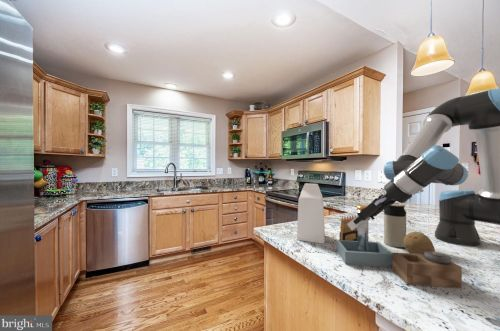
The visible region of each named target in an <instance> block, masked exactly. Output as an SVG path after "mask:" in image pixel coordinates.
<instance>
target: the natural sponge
mask: <svg viewBox="0 0 500 331" xmlns="http://www.w3.org/2000/svg"><path fill="white" fill-rule="evenodd" d="M403 243H404V246H405V247H404V249H406V251H407V253H412V254H424V252H426V251H433V252H436V249H435V246H434V244H433V242H432V240H431V239H430V237H428V235H426V234H424V232H423V233H422V232H421V231H411V232H409V233H406V236H405V238H404V240H403Z"/></svg>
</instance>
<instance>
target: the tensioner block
mask: <svg viewBox="0 0 500 331" xmlns="http://www.w3.org/2000/svg"><path fill="white" fill-rule="evenodd" d="M391 252H392V266H393V267H392V272H393V273H394V274H395V275H397V277H399V278H400V279H401V280H402V281H403V282H404V284H406V285H414V286H426V287H436V288H437V287H440V288H450V289H451V288H453V289H463V281H462V280H463V279H462V277H463V274H462V273H463V270H462V266H461V265H459V264H457V263H455V262H453V261H452V257H451V256H449V255H447V254H445V253H442V252H438V251H435V252H433V251H426V252H424V254H412V253H409V252H393V251H391Z"/></svg>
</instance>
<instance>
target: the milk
mask: <svg viewBox="0 0 500 331" xmlns="http://www.w3.org/2000/svg"><path fill="white" fill-rule="evenodd" d="M324 212H325V209H324V197H323V194H322V192H321V189H320V186H319V184H318V183H304V185H303V187H302V189H301V192H300V195H299V197H298V205H297V226H296V227H297V228H296V229H297V230H296V240H297V241H304V242H311V243H312V242H313V243H319V244H324V243H325V237H326V230H325V226H326V225H325V213H324Z"/></svg>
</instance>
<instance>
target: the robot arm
mask: <svg viewBox="0 0 500 331" xmlns="http://www.w3.org/2000/svg"><path fill="white" fill-rule="evenodd" d="M465 125H467V126H468V130H469V131H471V132H473V133H474V134H475V135H474V136H475V143H476V150H477V157H478V165H479V172H480V180H481V186H482V188H481V189H479V190H478V192H477V193H476V191H475V190H474V189H472V190H471V189H469V190H468V189H466V190H465V189H463V190H462V189H460V190H459V189H458V190H456V189H455V190H443V191H440V192H439V197H438V198H439V199H438V204H439V205H438V207H439V208H438V210H439V213H438V215H439V217H438V219H439V221H438V224H437V225H436V226H437V227H436V229H435V230H434V238H436V239H437V240H440V241H443V242H445V243H450V244H455V245H458V246H459V245H460V246H465V247H466V246H469V247H479V246H481V244H482V240H481V238H480V235H479V233H478V231H477V228H476V224H475V223H476V222H481V223H487V224H492V225H498V226H500V87H499V88H492V89H489V90H485V91H479V92H475V93H472V94H467V95H461V96H458V97H454V98H451V99H449V100H447V101H445V102H443V103H441V104H440V105H437V107H435V108H434V109H432V110H431V112H429V114H428V115H427V116H426V117H425V118H424V119H423V122H422V127H421V128H420V129H419V131H418V132H417V133H416V135H415V136H414V137H413V139H412V140H411V141H410V143H409V144H408V145H407V147H405V148H404V151H402V153H401V154H400V156H399V157H398V158H397V160H391V161H387V162H386V163H385V164H384V166H383V175H384V177H385V178H386V179H387V180H389V181H388V182H387V183H385V184H384V186H383V189H384V191H385V193H384V194H383V193H382V194H380V195H378V197H376V198H374V200H372V202H370V203H369V204H368V205H366V206H367V207H366V208H364V209H363V210H362V211H361V212H360V213H359V212H358V213H357V212H356V214H357V215H358V216H356V217H355V218H354V219H353V220H352V221H350V222H349V223H348V224H347V225H348V226H349V228H350V229H351V230H354V229H355V228H356V227H358V226H359V225H360V224H361V223H363V222H364V221H365V220H366V219H367V218H368V222H369V221H370V220H375V219H376V218H375V217H377V216H378V215H379V214H380V213H382V212H384V209H386V208H387V207H389V206H390V205H392V204H394V203H395V202H396V203H402V204H405V203H406V202H407V201H409V200H410V199H411V198H413V196H415V195H416V194H418V193H419V192H420V193H423V192H424V188H426V187H428V186H430V185H431V184H432V183H433V184H443V185H445V186H458V185H462V184H463V183H465V182H466V181H467V179H468V176H469V172H468V169H467V168H466V167H465V166H463V165H462V164H461V163H460V158H459V157H457V155H455V154H454V153H452V152H451V151H449V150H448V149H446V148H444V147H443V146H441V145H438V142H439V141H440V139H441V138H442V137H443V135H444V134H445V133H447V132H449V131H450V130H451V128H454V127H457V126H458V127H459V126H465Z"/></svg>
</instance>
